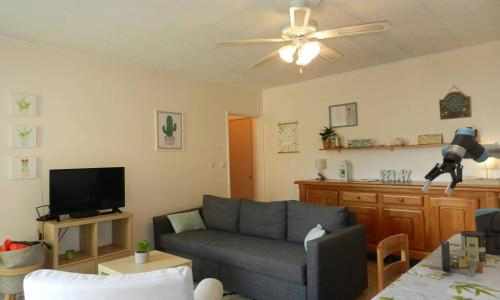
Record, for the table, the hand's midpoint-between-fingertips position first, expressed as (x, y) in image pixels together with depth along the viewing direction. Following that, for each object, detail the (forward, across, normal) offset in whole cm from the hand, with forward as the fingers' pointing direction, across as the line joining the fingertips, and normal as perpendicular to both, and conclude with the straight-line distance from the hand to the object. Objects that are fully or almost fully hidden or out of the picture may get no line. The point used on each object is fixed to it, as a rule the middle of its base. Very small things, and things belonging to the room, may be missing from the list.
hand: (435, 193), depth 160 cm
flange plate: (+24, +2, +29) cm, 37 cm away
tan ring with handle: (+25, +3, +24) cm, 35 cm away
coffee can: (+15, -3, +41) cm, 44 cm away
